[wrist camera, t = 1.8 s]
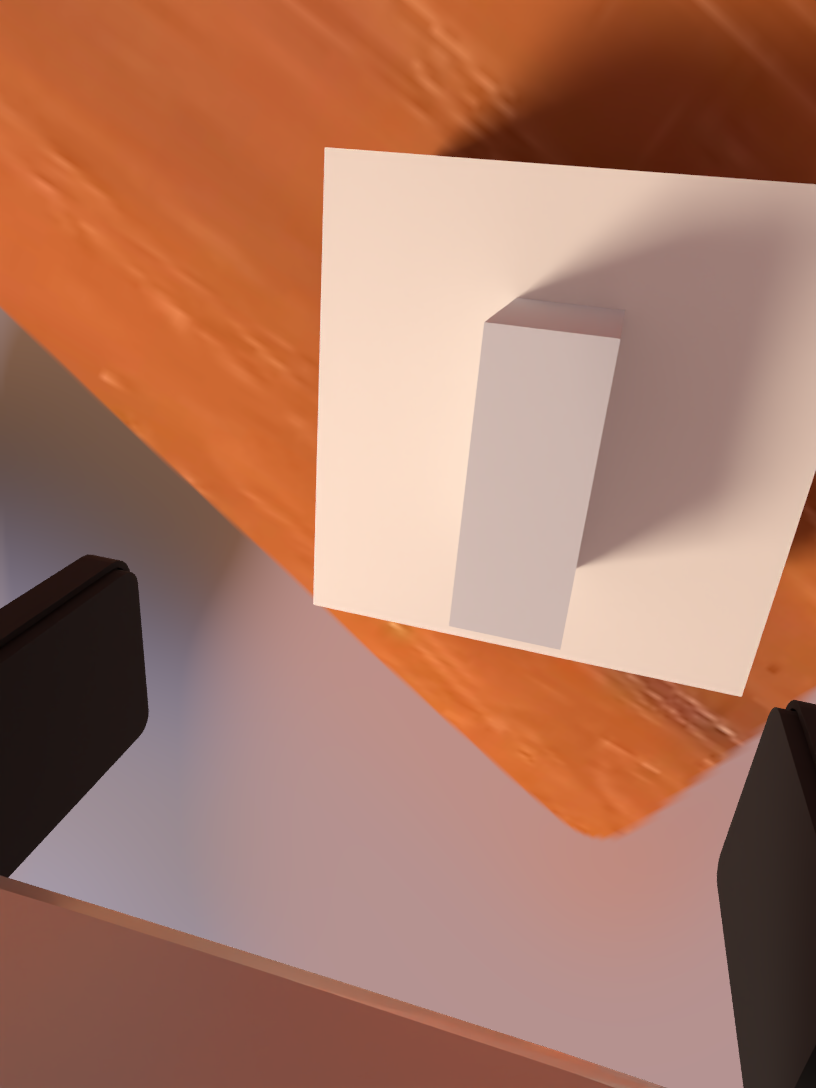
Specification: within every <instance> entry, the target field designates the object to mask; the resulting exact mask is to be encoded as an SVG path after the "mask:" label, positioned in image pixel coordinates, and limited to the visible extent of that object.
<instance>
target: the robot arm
mask: <svg viewBox="0 0 816 1088" xmlns="http://www.w3.org/2000/svg"><path fill="white" fill-rule="evenodd" d="M147 719H148V698H147V687H146V675H145V663H144V651H143V640H142V627H141V616H140V603H139V591H138V582H137V578H136V576H135V574H133V573H132V572H130V570H129V568H128V566H127V564H126V563H124V562H123V561H120V560H115V559H109V558H105V557H100V556H95V555H85V556H83V557H81V558H79V559H78V560H76V561H75V562H73V563H72V564H70V565H68V566H67V567H65V568H64V569H62V570H61V571H59V572H57V573H56V574H54V575H53V576H51V577H50V578H48V579H46V580H45V581H43V582H42V583H40V584H39V585H37V586H35V587H34V588H32V589H31V590H29V591H28V592H26V593H25V594H23V595H21V596H20V597H18V598H17V599H15V600H13V601H12V602H10V603H9V604H7V605H6V606H4V607H2V608H1V609H0V1088H666V1087H663V1086H660V1085H657V1084H654V1083H651V1082H648V1081H645V1080H642V1079H639V1078H636V1077H633V1076H630V1075H627V1074H624V1073H621V1072H618V1071H615V1070H613V1069H610V1068H606V1067H604V1066H601V1065H598V1064H595V1063H592V1062H589V1061H586V1060H583V1059H580V1058H577V1057H574V1056H571V1055H568V1054H565V1053H562V1052H559V1051H556V1050H553V1049H550V1048H547V1047H544V1046H540V1045H537V1044H534V1043H531V1042H528V1041H525V1040H522V1039H518V1038H516V1037H512V1036H509V1035H506V1034H503V1033H500V1032H497V1031H493V1030H491V1029H487V1028H484V1027H481V1026H478V1025H475V1024H472V1023H469V1022H466V1021H462V1020H459V1019H456V1018H453V1017H450V1016H447V1015H443V1014H440V1013H437V1012H434V1011H431V1010H428V1009H425V1008H422V1007H418V1006H415V1005H412V1004H409V1003H406V1002H403V1001H400V1000H397V999H393V998H390V997H387V996H384V995H381V994H378V993H375V992H372V991H368V990H366V989H362V988H359V987H356V986H353V985H350V984H347V983H343V982H341V981H337V980H334V979H331V978H328V977H325V976H321V975H318V974H315V973H312V972H309V971H305V970H302V969H299V968H296V967H293V966H290V965H286V964H283V963H280V962H277V961H274V960H271V959H267V958H264V957H261V956H258V955H254V954H251V953H248V952H245V951H242V950H239V949H236V948H233V947H229V946H226V945H223V944H220V943H216V942H213V941H210V940H207V939H204V938H201V937H197V936H194V935H191V934H188V933H185V932H181V931H178V930H175V929H172V928H169V927H165V926H162V925H159V924H156V923H153V922H149V921H146V920H143V919H140V918H137V917H133V916H130V915H127V914H124V913H121V912H117V911H114V910H111V909H108V908H104V907H101V906H98V905H95V904H91V903H88V902H85V901H82V900H78V899H75V898H72V897H68V896H65V895H62V894H59V893H56V892H52V891H49V890H46V889H43V888H39V887H36V886H32V885H29V884H26V883H23V882H20V881H17V880H13V879H10V878H8V877H9V876H10V875H11V874H12V873H13V872H14V871H15V870H16V869H17V867H18V866H19V865H20V864H21V863H22V862H23V861H24V860H25V859H26V858H27V857H28V856H29V855H30V854H31V852H32V851H33V850H34V849H35V848H36V847H37V846H38V845H39V844H40V843H41V842H42V841H43V840H44V838H45V837H46V836H47V835H48V834H49V833H50V832H51V831H52V830H53V829H54V828H55V827H56V826H57V824H58V823H59V822H60V821H61V820H62V819H63V818H64V817H65V816H66V815H67V814H68V812H70V810H71V809H72V808H73V807H74V806H75V805H76V804H77V803H78V802H79V801H80V800H81V798H82V797H83V796H84V795H85V794H86V793H87V792H88V791H89V790H90V789H91V788H92V787H93V786H94V785H95V784H96V782H97V781H98V780H99V779H100V778H101V777H102V776H103V775H104V774H105V772H107V771H108V770H109V768H110V767H111V766H112V765H113V764H114V763H115V762H116V761H117V760H118V759H119V758H120V757H121V755H122V754H123V753H124V752H125V751H126V750H127V749H128V748H129V747H130V746H131V745H132V744H133V742H134V741H135V740H136V739H137V738H138V737H139V736H140V735H141V733H142V732H143V730H144V728H145V726H146V723H147ZM717 886H718V894H719V902H720V909H721V917H722V924H723V933H724V940H725V947H726V956H727V963H728V971H729V979H730V986H731V994H732V1002H733V1009H734V1017H735V1025H736V1033H737V1040H738V1047H739V1055H740V1063H741V1071H742V1078H743V1086H744V1088H816V704H811V703H807V702H802V701H797V700H793V701H791V702H790V703H789V704H788V705H787V707H786V709H781V708H777V707H775V708H773V709H772V710H771V712H770V714H769V716H768V719H767V722H766V725H765V728H764V730H763V733H762V736H761V739H760V742H759V745H758V748H757V751H756V754H755V756H754V759H753V762H752V765H751V768H750V771H749V774H748V777H747V779H746V782H745V785H744V788H743V791H742V794H741V796H740V799H739V802H738V805H737V808H736V811H735V814H734V817H733V820H732V822H731V825H730V828H729V831H728V834H727V837H726V840H725V842H724V846H723V848H722V851H721V854H720V858H719V862H718V870H717Z"/></svg>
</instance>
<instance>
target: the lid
mask: <svg viewBox="0 0 816 1088" xmlns="http://www.w3.org/2000/svg"><path fill="white" fill-rule="evenodd" d="M815 471H816V184H804V183H791V182H778V181H764V180H751V179H738V178H725V177H711V176H698V175H685V174H672V173H658V172H645V171H632V170H619V169H605V168H592V167H579V166H566V165H552V164H539V163H526V162H513V161H500V160H486V159H473V158H460V157H447V156H433V155H420V154H407V153H394V152H380V151H367V150H354V149H341V148H327V147H325V160H324V199H323V239H322V279H321V319H320V358H319V398H318V438H317V478H316V518H315V557H314V597H313V604H314V605H317V606H322V607H327V608H331V609H336V610H341V611H345V612H350V613H355V614H359V615H364V616H368V617H373V618H378V619H382V620H387V621H392V622H396V623H401V624H406V625H410V626H415V627H420V628H424V629H429V630H433V631H438V632H443V633H447V634H452V635H457V636H461V637H466V638H471V639H475V640H480V641H485V642H489V643H494V644H498V645H503V646H508V647H512V648H517V649H522V650H526V651H531V652H536V653H540V654H545V655H549V656H554V657H559V658H563V659H568V660H573V661H577V662H582V663H587V664H591V665H596V666H601V667H605V668H610V669H614V670H619V671H624V672H628V673H633V674H638V675H642V676H647V677H652V678H656V679H661V680H666V681H670V682H675V683H679V684H684V685H689V686H693V687H698V688H703V689H707V690H712V691H717V692H721V693H726V694H730V695H735V696H740V697H742V694H743V691H744V688H745V685H746V682H747V679H748V676H749V673H750V670H751V667H752V663H753V660H754V657H755V654H756V651H757V648H758V645H759V642H760V639H761V636H762V633H763V630H764V627H765V624H766V621H767V618H768V615H769V612H770V609H771V605H772V602H773V599H774V596H775V593H776V590H777V587H778V584H779V581H780V578H781V575H782V572H783V569H784V566H785V563H786V560H787V557H788V554H789V551H790V547H791V544H792V541H793V538H794V535H795V532H796V529H797V526H798V523H799V520H800V517H801V514H802V511H803V508H804V505H805V502H806V499H807V496H808V492H809V489H810V486H811V483H812V480H813V477H814V474H815Z"/></svg>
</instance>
